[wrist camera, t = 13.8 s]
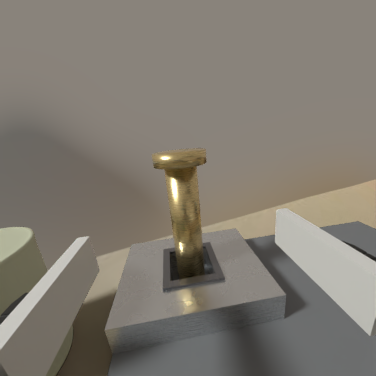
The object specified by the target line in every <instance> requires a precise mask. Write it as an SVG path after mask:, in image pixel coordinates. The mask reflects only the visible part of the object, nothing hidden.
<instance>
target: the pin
mask: <svg viewBox="0 0 376 376" xmlns="http://www.w3.org/2000/svg"><path fill="white" fill-rule="evenodd" d="M152 159H153V166H154V168H156V169H164V170H165V177H166V185H167V192H168V200H169V207H170V214H171V221H172V229H173V237H174V245H175V252H176V260H177V267H178V275H179V279H185V278H190V277H196V276H202V275H205V268H204V255H203V242H202V230H201V217H200V204H199V192H198V179H197V166H199V165H202V164H205V163H206V149H203V148H196V149H195V148H193V149H179V150H171V151H163V152H158V153H154V154H152Z"/></svg>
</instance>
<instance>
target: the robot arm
mask: <svg viewBox="0 0 376 376" xmlns="http://www.w3.org/2000/svg"><path fill="white" fill-rule="evenodd" d="M275 243H276V244H277V245H278V246H279V247H280V248H281V249H282V250H283V251H284V252H285V253H286V254H287V255H288V256H289V257H290V258H291V259H292V260H293V261H294V262H295V263H296V264H297V265H298V266H299V267H300V268H301V269H302V270H303V271H304V272H305V273H306V274H307V275H308V276H309V277H310V278H311V279H312V280H313V281H314V282H315V283H316V284H318V285H319V286H320V287H321V288H322V289H323V290H324V291H325V292H326V293H327V294H328V295H329V296H330V297H331V298H332V299H333V300H334V301H335V302H336V303H337V304H338V305H339V306H340V307H341V308H342V309H343V310H344V311H345V312H346V313H347V314H348V315H349V316H350V317H351V318H352V319H353V320H354V321H355V322H356V323H357V324H358V325H359V326H360V327H361V328H362V329H363V330H364V331H365V332H366V333H367V334H368V335H369V336H373V335H376V257H374V256H372V255H371V254H367V252H366V251H364V250H362V249H360V248H359V247H357V246H355V245H353V244H350V243H347V242H345V241H340V240H339V239H337V238H335V237H334V236H332V235H330V234H329V233H327V232H325V231H324V230H322V229H320V228H319V227H317V226H315V225H314V224H312V223H310V222H309V221H307V220H305V219H304V218H302V217H300V216H299V215H297V214H295V213H294V212H292V211H290V210H289V209H287V208H285V209H277V211H276V229H275ZM98 272H99V266H98V263H97V260H96V256H95V253H94V250H93V246H92V243H91V240H90V237H89V236H88V237H81V238H77V239H76V240H75V241H74V242H73V244H72V245H71V246H70V247H69V248H68V249H67V250H66V251H65V253H64V254H63V255H62V256H61V257H60V258H59V259H58V261H57V262H56V263H55V264H54V265H53V266H52V267H51V268H50V269H49V271H48V272H47V273H46V274H45V275H44V276H43V277H42V278H41V280H40V281H39V282H38V283H37V284H36V285H35V286H34V287H33V289H32V290H31V291H30V292H28V293H24V294H23V295H22V296H21V297H19V298H18V299H17V300H15V301H14V302H13V303H11V304H10V306H9V307H8V308H7V309H6V310H5V311H4V312H3V313H2V314H1V316H0V376H46V374H47V372H48V370H49V368H50V366H51V364H52V362H53V361H54V359H55V357H56V355H57V353H58V351H59V349H60V347H61V345H62V343H63V341H64V339H65V337H66V335H67V333H68V331H69V329H70V327H71V325H72V323H73V321H74V319H75V317H76V315H77V313H78V311H79V309H80V308H81V306H82V304H83V302H84V300H85V298H86V296H87V294H88V292H89V290H90V288H91V286H92V284H93V282H94V280H95V278H96V276H97V274H98Z"/></svg>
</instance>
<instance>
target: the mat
mask: <svg viewBox="0 0 376 376" xmlns="http://www.w3.org/2000/svg"><path fill="white" fill-rule="evenodd" d="M320 229H322V230H324V231H325V232H327V233H329V234H330V235H332V236H334V237H335V238H337V239H339V240H340V241H345V242H347V243H350V244H353V245H355V246H357V247H359V248H360V249H362V250H364V251H366V252H367V254H371V255H372V256H374V257H376V229H374V228H372V227H370V226H368V225H365V224H363V223H361V222H359V221H357V222H351V223H345V224H339V225H332V226H326V227H320ZM245 241H246V243H247V244H248V245H249V247H250V248H251V249H252V251H253V252H254V253H255V254H256V256H257V257H258V258H259V260H260V261H261V262H262V264H263V265H264V266H265V268H266V269H267V270H268V272H269V273H270V274H271V276H272V277H273V278H274V279H275V281H276V282H277V283H278V285H279V286H280V287H281V289H282V290H283V291H284V293H285V294H286V303H285V315H284V319H282V320H277V321H272V322H268V323H263V324H258V325H253V326H248V327H243V328H239V329H234V330H229V331H224V332H219V333H214V334H210V335H205V336H200V337H195V338H190V339H185V340H180V341H176V342H171V343H166V344H161V345H156V346H151V347H147V348H142V349H137V350H132V351H127V352H122V353H118V354H113V355H112V359H111V363H110V367H109V371H108V375H107V376H376V335H373V336H369V335H368V334H367V333H366V332H365V331H364V330H363V329H362V328H361V327H360V326H359V325H358V324H357V323H356V322H355V321H354V320H353V319H352V318H351V317H350V316H349V315H348V314H347V313H346V312H345V311H344V310H343V309H342V308H341V307H340V306H339V305H338V304H337V303H336V302H335V301H334V300H333V299H332V298H331V297H330V296H329V295H328V294H327V293H326V292H325V291H324V290H323V289H322V288H321V287H320V286H319V285H318V284H316V283H315V282H314V281H313V280H312V279H311V278H310V277H309V276H308V275H307V274H306V273H305V272H304V271H303V270H302V269H301V268H300V267H299V266H298V265H297V264H296V263H295V262H294V261H293V260H292V259H291V258H290V257H289V256H288V255H287V254H286V253H285V252H284V251H283V250H282V249H281V248H280V247H279V246H278V245H277V244H276V243H275V235H270V236H264V237H258V238H252V239H245ZM204 268H205V275H207V274H209V271H208V268H207V267H204ZM173 280H179V275H178V272H173Z"/></svg>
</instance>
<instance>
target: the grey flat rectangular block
mask: <svg viewBox="0 0 376 376" xmlns="http://www.w3.org/2000/svg"><path fill="white" fill-rule="evenodd" d="M202 242H203V255H204V267H207V268H208V271H209V274H207V275H202V276H196V277H190V278H185V279H179V280H173V272H178V267H177V260H176V252H175V245H174V238H171V239H164V240H158V241H151V242H145V243H138V244H132V245H131V248H130V251H129V254H128V258H127V261H126V264H125V267H124V270H123V273H122V276H121V280H120V283H119V286H118V289H117V292H116V295H115V298H114V302H113V305H112V308H111V311H110V314H109V317H108V320H107V324H106V327H105V333H106V336H107V339H108V342H109V345H110V348H111V351H112V354H118V353H122V352H127V351H132V350H137V349H142V348H147V347H151V346H156V345H161V344H166V343H171V342H176V341H180V340H185V339H190V338H195V337H200V336H205V335H210V334H214V333H219V332H224V331H229V330H234V329H239V328H243V327H248V326H253V325H258V324H263V323H268V322H272V321H277V320H282V319H284V315H285V303H286V294H285V293H284V291H283V290H282V289H281V287H280V286H279V285H278V283H277V282H276V281H275V279H274V278H273V277H272V276H271V274H270V273H269V272H268V270H267V269H266V268H265V266H264V265H263V264H262V262H261V261H260V260H259V258H258V257H257V256H256V254H255V253H254V252H253V251H252V249H251V248H250V247H249V245H248V244H247V243H246V241H245V240H244V239H243V237H242V236H241V235H240V233H239V232H238V231H237V230H236V229H229V230H223V231H216V232H210V233H203V234H202Z"/></svg>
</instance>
